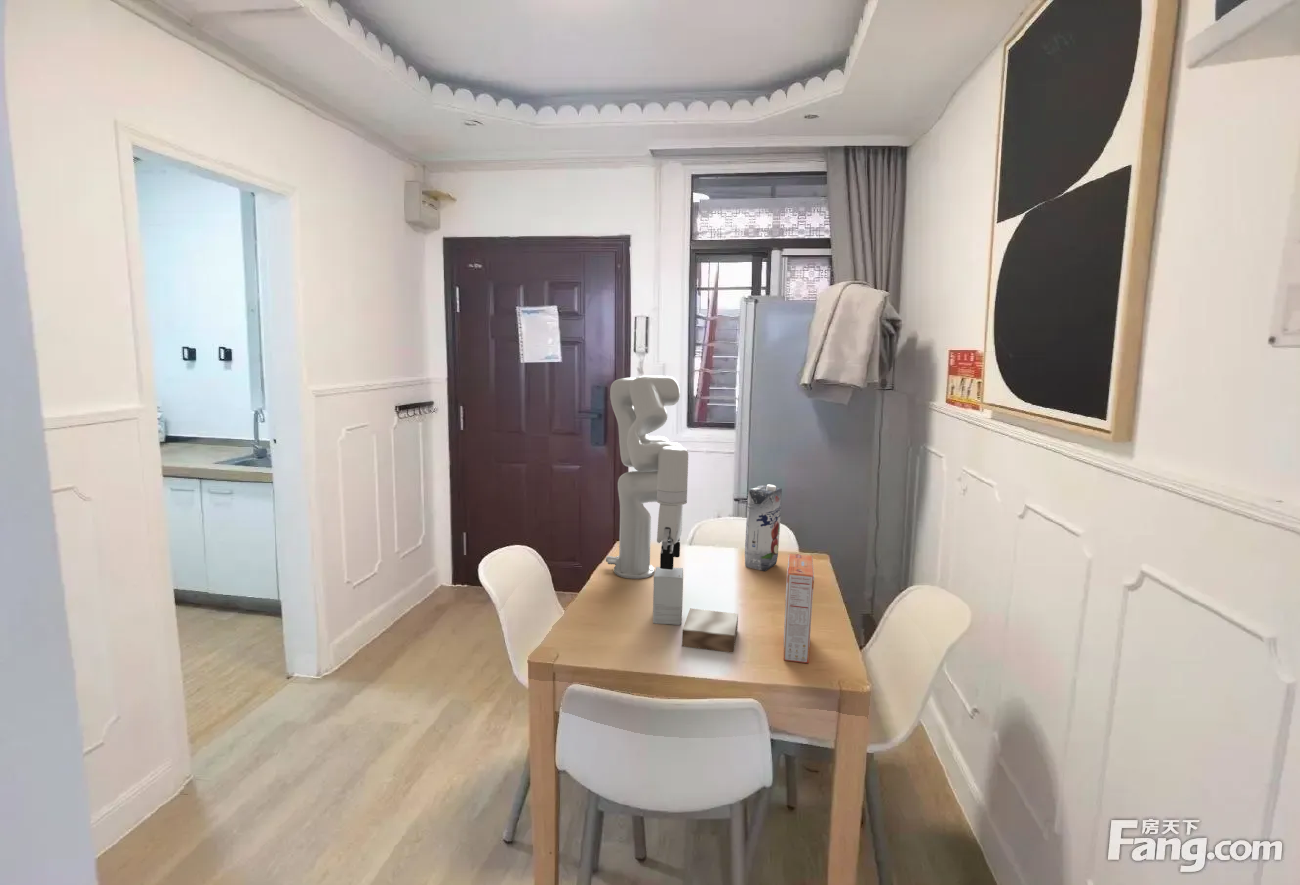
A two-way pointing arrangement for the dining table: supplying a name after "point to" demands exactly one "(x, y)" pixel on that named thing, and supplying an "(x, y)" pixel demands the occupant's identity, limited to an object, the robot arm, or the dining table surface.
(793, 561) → the cracker box
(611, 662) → the dining table surface
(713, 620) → the base block
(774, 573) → the dining table surface
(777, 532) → the juice carton
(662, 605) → the supplement box
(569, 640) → the dining table surface
